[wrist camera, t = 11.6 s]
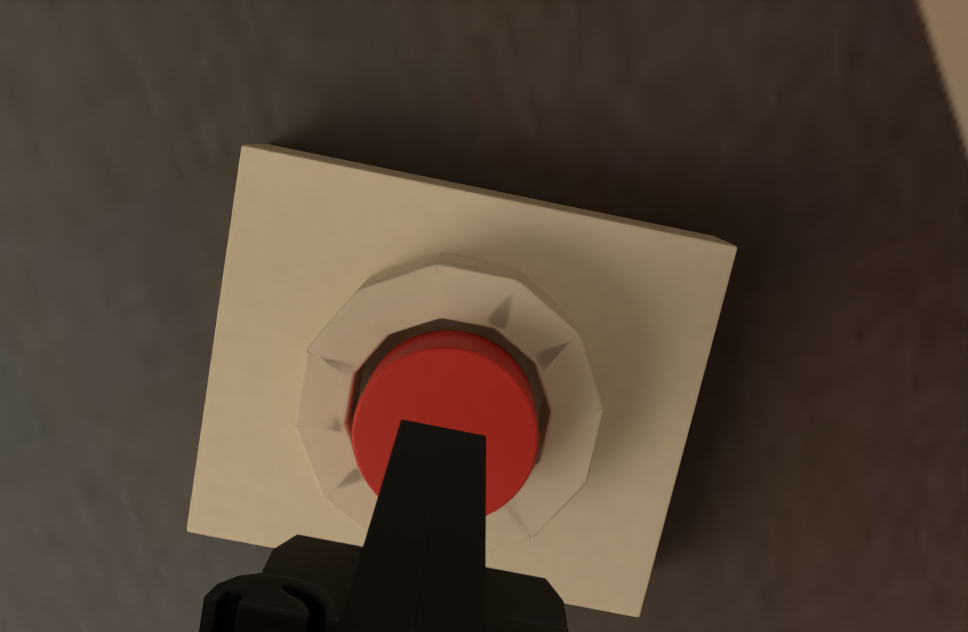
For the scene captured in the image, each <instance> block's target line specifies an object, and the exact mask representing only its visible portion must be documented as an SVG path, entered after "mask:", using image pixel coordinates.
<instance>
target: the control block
mask: <svg viewBox="0 0 968 632" xmlns="http://www.w3.org/2000/svg"><path fill="white" fill-rule="evenodd" d="M736 251H737V247H736V246H735V245H732V244H730V243H728V242H726V241H724V240H721V239H719V238H717V237H715V236H712V235H707V234H702V233H697V232H692V231H687V230H682V229H678V228H673V227H668V226H663V225H658V224H653V223H648V222H644V221H639V220H634V219H629V218H624V217H619V216H614V215H610V214H605V213H600V212H595V211H590V210H585V209H580V208H576V207H571V206H566V205H561V204H556V203H551V202H546V201H542V200H537V199H532V198H527V197H522V196H517V195H512V194H508V193H503V192H498V191H493V190H488V189H483V188H478V187H474V186H469V185H464V184H459V183H454V182H449V181H444V180H440V179H435V178H430V177H425V176H420V175H415V174H410V173H406V172H401V171H396V170H391V169H386V168H381V167H376V166H372V165H367V164H362V163H357V162H352V161H347V160H342V159H338V158H333V157H328V156H323V155H318V154H313V153H308V152H304V151H299V150H294V149H289V148H284V147H279V146H274V145H270V144H254V145H242V147H241V154H240V161H239V168H238V175H237V182H236V189H235V196H234V203H233V210H232V217H231V224H230V231H229V238H228V245H227V252H226V259H225V266H224V273H223V280H222V287H221V294H220V301H219V308H218V315H217V322H216V329H215V336H214V343H213V350H212V357H211V364H210V371H209V378H208V385H207V392H206V399H205V406H204V413H203V420H202V427H201V434H200V441H199V448H198V455H197V462H196V469H195V476H194V483H193V490H192V497H191V504H190V511H189V518H188V525H187V531H188V532H192V533H197V534H203V535H208V536H213V537H218V538H224V539H229V540H234V541H239V542H245V543H250V544H255V545H260V546H266V547H271V548H276V547H278V546H279V545H281V544H283V543H284V542H286V541H287V540H289V539H291V538H292V537H294V536H295V535H297V534H299V535H304V536H309V537H315V538H320V539H325V540H331V541H336V542H341V543H347V544H352V545H357V546H363V545H364V542H365V538H366V535H367V532H368V528H369V525H370V522H371V518H372V515H373V512H374V508H375V505H376V502H377V498H378V496H377V495H376V494H375V493H374V492H373V490H372V489H371V488H370V487H369V486H368V484H367V482H366V481H365V479H364V478H363V476H362V474H361V472H360V470H359V468H358V466H357V462H356V459H355V456H354V452H353V446H352V423H353V417H354V413H355V409H356V406H357V404H358V401H359V399H360V396H361V394H362V392H363V390H364V388H365V386H366V384H367V382H368V380H369V378H370V376H371V375H372V373H373V371H374V369H375V368H376V366H377V365H378V364H379V362H380V361H381V360H382V359H383V357H384V356H385V355H387V354H388V353H389V352H390V351H391V350H392V349H393V348H395V347H396V346H397V345H399V344H400V343H402V342H404V341H405V340H407V339H409V338H411V337H414V336H416V335H419V334H422V333H426V332H430V331H436V330H460V331H467V332H470V333H474V334H477V335H480V336H482V337H485V338H487V339H489V340H491V341H492V342H494V343H496V344H498V345H499V346H500V347H502V348H503V349H504V350H506V351H507V352H508V353H509V354H510V355H511V356H512V357H513V358H514V359H515V360H516V362H517V363H518V364H519V366H520V367H521V368H522V370H523V372H524V373H525V375H526V377H527V379H528V381H529V384H530V386H531V389H532V393H533V397H534V402H535V408H536V415H537V421H538V429H539V445H538V451H537V456H536V460H535V463H534V466H533V469H532V471H531V473H530V475H529V477H528V479H527V480H526V482H525V484H524V485H523V487H522V488H521V489H520V490H519V491H518V493H517V494H516V495H515V496H514V497H513V498H512V499H511V500H510V501H509V502H508V503H506V504H505V505H504V506H502V507H501V508H499V509H498V510H497V511H495V512H493V513H491V514H489V515H487V516H486V567H489V568H494V569H499V570H504V571H510V572H515V573H520V574H526V575H531V576H536V577H542V578H546V579H547V580H548V582H549V583H550V584H551V586H552V587H553V588H554V589H555V591H556V592H557V593H558V594H559V596H560V597H561V598H562V600H563V602H564V603H565V604H570V605H576V606H581V607H586V608H591V609H597V610H602V611H607V612H612V613H618V614H623V615H628V616H634V617H639V616H640V613H641V609H642V605H643V601H644V598H645V594H646V590H647V586H648V582H649V579H650V575H651V571H652V567H653V564H654V560H655V556H656V552H657V549H658V545H659V541H660V537H661V534H662V530H663V526H664V522H665V518H666V515H667V511H668V507H669V503H670V500H671V496H672V492H673V488H674V485H675V481H676V477H677V473H678V470H679V466H680V462H681V458H682V454H683V451H684V447H685V443H686V439H687V436H688V432H689V428H690V424H691V421H692V417H693V413H694V409H695V406H696V402H697V398H698V394H699V390H700V387H701V383H702V379H703V375H704V372H705V368H706V364H707V360H708V357H709V353H710V349H711V345H712V342H713V338H714V334H715V330H716V326H717V323H718V319H719V315H720V311H721V308H722V304H723V300H724V296H725V293H726V289H727V285H728V281H729V278H730V274H731V270H732V266H733V262H734V259H735V255H736Z"/></svg>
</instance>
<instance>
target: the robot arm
mask: <svg viewBox="0 0 968 632" xmlns="http://www.w3.org/2000/svg"><path fill="white" fill-rule="evenodd" d="M566 627H567V620H566V614H565V608H564V602H563V600H562V598H561V597H560V596H559V594H558V593H557V592H556V591H555V589H554V588H553V587H552V586H551V584H550V583H549V582H548V580H547V579H546V578H542V577H536V576H531V575H526V574H520V573H515V572H510V571H504V570H499V569H494V568H489V567H486V436H485V435H480V434H475V433H470V432H465V431H460V430H455V429H449V428H444V427H439V426H434V425H429V424H424V423H419V422H414V421H408V420H403V419H401V421H400V425H399V428H398V431H397V435H396V438H395V441H394V445H393V448H392V451H391V455H390V458H389V461H388V465H387V468H386V471H385V475H384V478H383V482H382V485H381V488H380V492H379V495H378V498H377V502H376V505H375V508H374V512H373V515H372V518H371V522H370V525H369V528H368V532H367V535H366V538H365V542H364V545H363V546H357V545H352V544H347V543H341V542H336V541H331V540H325V539H320V538H315V537H309V536H304V535H299V534H297V535H295V536H294V537H292V538H291V539H289V540H287V541H286V542H284V543H283V544H281V545H279V546H278V547H276V548H275V549H273V551H272V553H271V555H270V557H269V559H268V561H267V563H266V565H265V567H264V569H263V572H262V573H257V574H250V575H242V576H237V577H234V578H232V579H229V580H227V581H224V582H222V583H219V584H217V585H216V586H215V587H214V588H213V589H212V590H211V591H210V592H209V593H208V594H207V595H206V596H205V597H204V602H203V609H202V616H201V622H200V629H199V632H568V628H566Z"/></svg>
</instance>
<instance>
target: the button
mask: <svg viewBox="0 0 968 632" xmlns="http://www.w3.org/2000/svg"><path fill="white" fill-rule="evenodd" d="M401 419H403V420H408V421H414V422H419V423H424V424H429V425H434V426H439V427H444V428H449V429H455V430H460V431H465V432H470V433H475V434H480V435H485V436H486V516H487V515H489V514H491V513H493V512H495V511H497V510H498V509H499V508H501V507H502V506H504V505H505V504H506V503H508V502H509V501H510V500H511V499H512V498H513V497H514V496H515V495H516V494H517V493H518V491H519V490H520V489H521V488H522V487H523V485H524V484H525V482H526V480H527V479H528V477H529V475H530V473H531V471H532V469H533V466H534V463H535V460H536V456H537V451H538V445H539V429H538V421H537V415H536V408H535V402H534V397H533V393H532V389H531V386H530V384H529V381H528V379H527V377H526V375H525V373H524V372H523V370H522V368H521V367H520V366H519V364H518V363H517V362H516V360H515V359H514V358H513V357H512V356H511V355H510V354H509V353H508V352H507V351H506V350H504V349H503V348H502V347H500V346H499V345H498V344H496V343H494V342H492V341H491V340H489V339H487V338H485V337H482V336H480V335H477V334H474V333H470V332H467V331H460V330H436V331H430V332H426V333H422V334H419V335H416V336H414V337H411V338H409V339H407V340H405V341H404V342H402V343H400V344H399V345H397V346H396V347H395V348H393V349H392V350H391V351H390V352H389V353H388V354H387V355H385V356H384V357H383V359H382V360H381V361H380V362H379V364H378V365H377V366H376V368H375V369H374V371H373V373H372V375H371V376H370V378H369V380H368V382H367V384H366V386H365V388H364V390H363V392H362V394H361V396H360V399H359V401H358V404H357V406H356V409H355V413H354V417H353V423H352V446H353V452H354V456H355V459H356V462H357V466H358V468H359V470H360V472H361V474H362V476H363V478H364V479H365V481H366V482H367V484H368V486H369V487H370V488H371V489H372V490H373V492H374V493H375V494H376V495H377V496H378V495H379V492H380V488H381V485H382V482H383V478H384V475H385V471H386V468H387V465H388V461H389V458H390V455H391V451H392V448H393V445H394V441H395V438H396V435H397V431H398V428H399V425H400V421H401Z"/></svg>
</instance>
